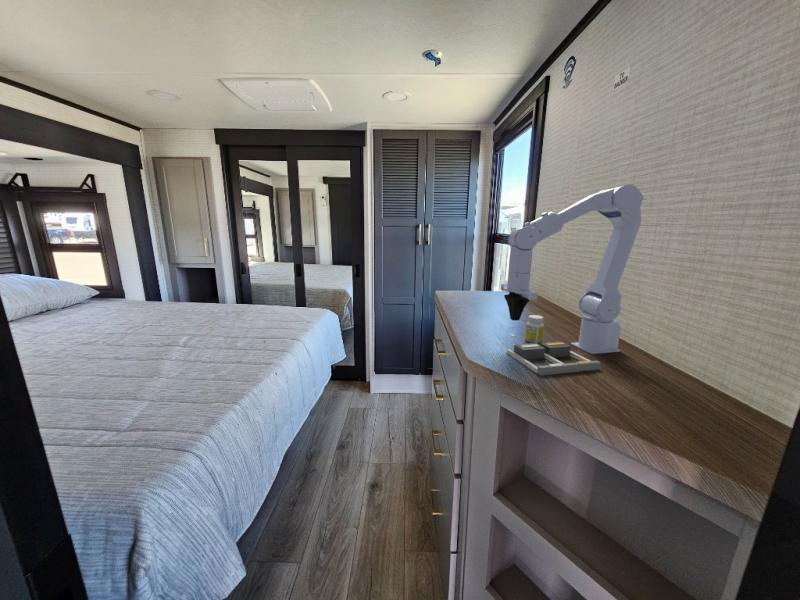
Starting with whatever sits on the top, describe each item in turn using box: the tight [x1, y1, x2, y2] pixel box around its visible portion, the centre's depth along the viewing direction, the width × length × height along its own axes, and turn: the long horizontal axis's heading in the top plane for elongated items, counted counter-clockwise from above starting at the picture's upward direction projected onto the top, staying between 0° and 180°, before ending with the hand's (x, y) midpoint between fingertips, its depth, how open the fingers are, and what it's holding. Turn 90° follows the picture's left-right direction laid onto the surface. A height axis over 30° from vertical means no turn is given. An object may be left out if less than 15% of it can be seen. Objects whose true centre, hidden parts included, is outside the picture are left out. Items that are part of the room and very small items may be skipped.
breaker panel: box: [506, 348, 601, 376], centre depth 79 cm, size 16×14×2 cm
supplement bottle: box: [524, 314, 545, 345], centre depth 91 cm, size 5×5×8 cm
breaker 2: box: [540, 340, 572, 358], centre depth 83 cm, size 6×4×3 cm, turn 102°
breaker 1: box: [513, 343, 545, 361], centre depth 81 cm, size 6×4×3 cm, turn 102°
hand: (514, 319), depth 87 cm, fingers closed
